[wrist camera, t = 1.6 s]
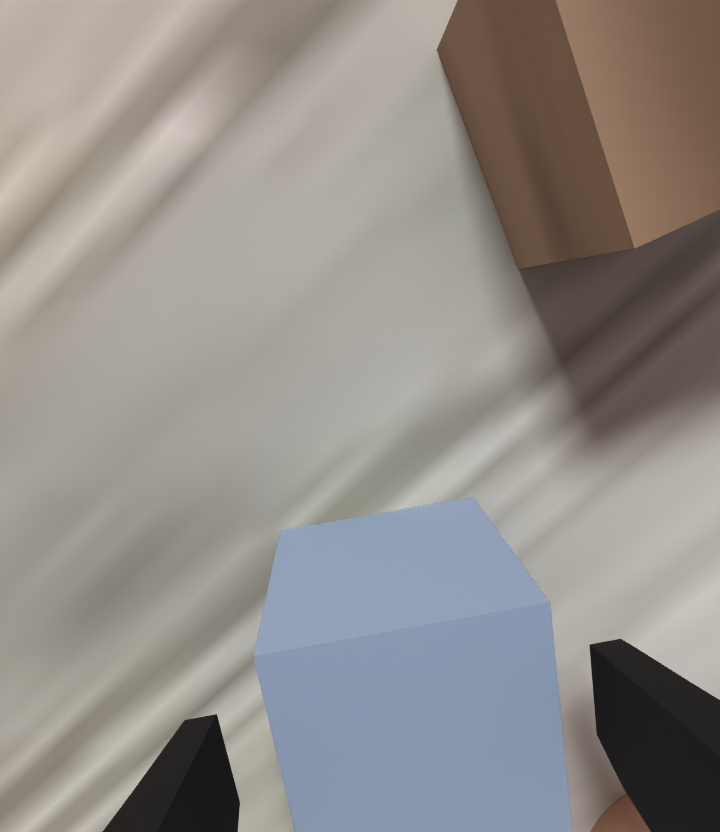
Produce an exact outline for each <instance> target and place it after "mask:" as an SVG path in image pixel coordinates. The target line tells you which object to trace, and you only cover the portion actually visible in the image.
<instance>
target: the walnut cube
mask: <svg viewBox="0 0 720 832" xmlns="http://www.w3.org/2000/svg"><path fill="white" fill-rule="evenodd" d="M437 51H438V54H439V56H440V59H441V62H442V64H443V67H444V70H445V73H446V75H447V78H448V81H449V83H450V86H451V89H452V91H453V94H454V97H455V100H456V102H457V105H458V108H459V110H460V113H461V116H462V118H463V121H464V124H465V127H466V129H467V132H468V135H469V137H470V140H471V143H472V145H473V148H474V151H475V154H476V156H477V159H478V162H479V164H480V167H481V170H482V172H483V175H484V178H485V181H486V183H487V186H488V189H489V191H490V194H491V197H492V199H493V202H494V205H495V208H496V210H497V213H498V216H499V218H500V221H501V224H502V227H503V229H504V232H505V235H506V237H507V240H508V243H509V245H510V248H511V251H512V254H513V256H514V259H515V262H516V264H517V267H518V269H521V268H527V267H532V266H538V265H544V264H550V263H555V262H561V261H567V260H573V259H579V258H584V257H590V256H596V255H602V254H607V253H613V252H619V251H625V250H630V249H635V248H637V247H640V246H642V245H644V244H646V243H648V242H651V241H653V240H655V239H657V238H659V237H661V236H664V235H666V234H668V233H670V232H672V231H674V230H677V229H679V228H681V227H683V226H685V225H688V224H690V223H692V222H694V221H696V220H698V219H701V218H703V217H705V216H707V215H709V214H712V213H714V212H716V211H718V210H720V0H458V1H457V3H456V6H455V8H454V11H453V13H452V15H451V18H450V20H449V22H448V25H447V27H446V29H445V32H444V34H443V37H442V39H441V41H440V44H439V46H438V48H437Z"/></svg>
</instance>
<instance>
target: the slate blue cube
mask: <svg viewBox="0 0 720 832" xmlns="http://www.w3.org/2000/svg"><path fill="white" fill-rule="evenodd" d="M253 656H254V661H255V665H256V669H257V673H258V677H259V682H260V686H261V690H262V694H263V698H264V702H265V707H266V711H267V715H268V719H269V723H270V728H271V732H272V736H273V740H274V744H275V749H276V753H277V757H278V761H279V765H280V769H281V774H282V778H283V782H284V786H285V790H286V795H287V799H288V803H289V807H290V811H291V816H292V820H293V824H294V828H295V832H572V822H571V812H570V802H569V791H568V781H567V771H566V761H565V750H564V740H563V730H562V720H561V709H560V699H559V689H558V679H557V669H556V658H555V648H554V638H553V628H552V617H551V607H550V601H549V600H548V599H547V597H546V596H545V595H544V593H543V592H542V591H541V589H540V588H539V586H538V585H537V584H536V582H535V581H534V580H533V578H532V577H531V575H530V574H529V573H528V571H527V570H526V569H525V567H524V566H523V564H522V563H521V562H520V560H519V559H518V558H517V556H516V555H515V554H514V552H513V551H512V549H511V548H510V547H509V545H508V544H507V543H506V541H505V540H504V538H503V537H502V536H501V534H500V533H499V532H498V530H497V529H496V527H495V526H494V525H493V523H492V522H491V521H490V519H489V518H488V516H487V515H486V514H485V512H484V511H483V510H482V508H481V507H480V506H479V504H478V503H477V501H476V500H475V499H474V497H468V498H463V499H457V500H452V501H446V502H440V503H435V504H429V505H423V506H418V507H412V508H406V509H401V510H395V511H389V512H384V513H378V514H372V515H367V516H361V517H356V518H350V519H344V520H339V521H333V522H327V523H322V524H316V525H310V526H305V527H299V528H293V529H288V530H282V531H281V532H280V536H279V541H278V545H277V550H276V555H275V559H274V564H273V568H272V573H271V577H270V582H269V587H268V591H267V596H266V600H265V605H264V610H263V614H262V619H261V623H260V628H259V632H258V637H257V642H256V646H255V651H254V655H253Z"/></svg>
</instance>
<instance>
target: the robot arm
mask: <svg viewBox="0 0 720 832" xmlns="http://www.w3.org/2000/svg"><path fill="white" fill-rule="evenodd" d="M590 656H591V668H592V680H593V693H594V705H595V717H596V730H597V736H598V738H599V740H600V742H601V744H602V746H603V748H604V750H605V752H606V754H607V756H608V758H609V760H610V762H611V764H612V766H613V768H614V770H615V772H616V774H617V776H618V778H619V780H620V782H621V784H622V786H623V787H624V789H625V791H626V793H627V795H628V796H629V798H630V800H631V801H632V803H633V804H634V806H635V808H636V809H637V811H638V812H639V814H640V815H641V817H642V819H643V820H644V822H645V823H646V825H647V826H648V828H649V830H650V831H651V832H720V700H719V699H717V698H715V697H714V696H712V695H710V694H709V693H707V692H705V691H704V690H702V689H701V688H699V687H697V686H696V685H694V684H692V683H691V682H689V681H688V680H686V679H684V678H683V677H681V676H680V675H678V674H676V673H675V672H673V671H672V670H670V669H668V668H667V667H665V666H664V665H662V664H661V663H659V662H657V661H656V660H654V659H653V658H651V657H649V656H648V655H646V654H645V653H643V652H641V651H640V650H638V649H637V648H635V647H633V646H632V645H630V644H628V643H627V642H625V641H623V640H622V639H617V640H612V641H607V642H601V643H596V644H591V645H590ZM239 807H240V801H239V797H238V793H237V790H236V786H235V782H234V778H233V774H232V771H231V767H230V763H229V759H228V755H227V752H226V748H225V744H224V740H223V736H222V733H221V729H220V725H219V721H218V717H217V714H216V715H210V716H205V717H200V718H194V719H189V720H185V721H184V722H183V723H182V725H181V726H180V727H179V729H178V730H177V731H176V733H175V734H174V735H173V737H172V738H171V739H170V741H169V742H168V744H167V745H166V746H165V748H164V749H163V750H162V752H161V753H160V755H159V756H158V757H157V759H156V760H155V762H154V763H153V764H152V766H151V767H150V769H149V770H148V771H147V773H146V774H145V775H144V777H143V778H142V780H141V781H140V782H139V784H138V785H137V786H136V788H135V789H134V791H133V792H132V793H131V795H130V796H129V797H128V799H127V800H126V801H125V803H124V804H123V805H122V807H121V808H120V809H119V811H118V812H117V813H116V815H115V816H114V817H113V819H112V820H111V821H110V823H109V824H108V825H107V827H106V828H105V829H104V831H103V832H237V831H238V819H239Z"/></svg>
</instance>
